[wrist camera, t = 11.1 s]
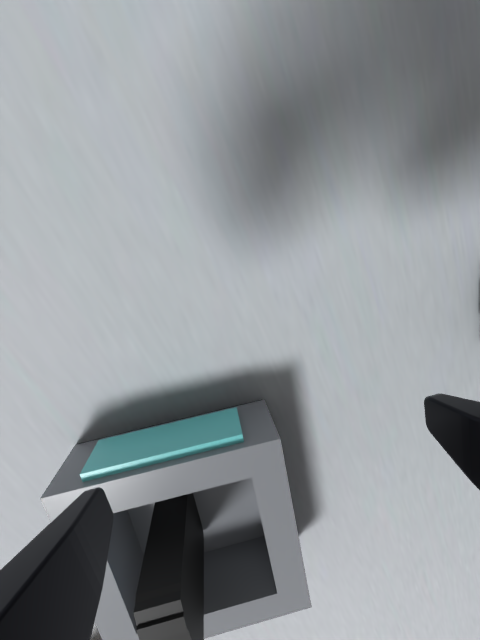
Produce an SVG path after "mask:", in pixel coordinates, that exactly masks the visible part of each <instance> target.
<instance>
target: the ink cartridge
mask: <svg viewBox="0 0 480 640" xmlns="http://www.w3.org/2000/svg"><path fill="white" fill-rule="evenodd" d="M133 613H134V617H135V621H136V625H137V628H136V631H137V634H138V637H139V640H204V534H203V528H202V524H201V520H200V516H199V513H198V509H197V506H196V502H195V498H194V495H193V493H190V494H186V495H182V496H178V497H174V498H171V499H167V500H163V501H159V502H155V505H154V510H153V514H152V519H151V524H150V529H149V534H148V539H147V543H146V548H145V553H144V558H143V563H142V568H141V573H140V577H139V582H138V587H137V592H136V600H135V607H134V612H133Z"/></svg>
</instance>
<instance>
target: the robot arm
mask: <svg viewBox="0 0 480 640" xmlns="http://www.w3.org/2000/svg"><path fill="white" fill-rule="evenodd" d="M424 407H425V418H426V425H427V428H428V430H429V431H430V433H431V434H432V435H433V436H434V437H435V439H436V440H437V441H438V442H439V444H440V445H441V446H442V447H443V448H444V450H445V451H446V452H447V453H448V454H449V456H450V457H451V458H452V459H453V460H454V462H455V463H456V464H457V465H458V466H459V468H460V469H461V470H462V471H463V472H464V474H465V475H466V476H467V477H468V478H469V479H470V480H471V482H472V483H473V484H474V485H475V486H476V487H477V488H478V489H479V490H480V402H477V401H473V400H468V399H463V398H459V397H454V396H450V395H445V394H435V395H432V396H428V397H426V398H425V400H424ZM112 526H113V511H112V509H111V506H110V504H109V501H108V499H107V497H106V494H105V492H104V490H103V489H102V488H100V487H97V488H93V489H90V490H86V491H84V492H83V493H82V494H81V495H80V496H79V497H78V498H76V499H75V500H74V501H73V502H72V503H71V504H70V505H69V506H68V507H67V508H66V509H65V510H64V511H63V512H62V513H61V514H59V515H58V516H57V517H56V518H55V519H54V520H53V521H52V522H51V523H50V524H49V525H48V526H47V527H46V528H45V529H44V530H43V531H41V532H40V533H39V534H38V535H37V536H36V537H35V538H34V539H33V540H32V541H31V542H30V543H29V544H28V545H27V546H26V547H24V548H23V549H22V550H21V551H20V552H19V553H18V554H17V555H16V556H15V557H14V558H13V559H12V560H11V561H10V562H9V563H7V564H6V565H5V566H4V567H3V568H2V569H1V570H0V640H90V637H91V633H92V629H93V625H94V621H95V617H96V613H97V609H98V605H99V601H100V597H101V593H102V588H103V583H104V577H105V571H106V564H107V558H108V552H109V545H110V539H111V533H112Z"/></svg>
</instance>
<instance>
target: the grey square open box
mask: <svg viewBox="0 0 480 640" xmlns="http://www.w3.org/2000/svg"><path fill="white" fill-rule="evenodd" d="M97 487H100V488H102V489H103V490H104V492H105V494H106V497H107V499H108V501H109V504H110V506H111V509H112V511H113V526H112V533H111V539H110V545H109V552H108V558H107V564H106V571H105V577H104V583H103V588H102V593H101V597H100V601H99V605H98V609H97V613H96V617H95V621H94V622H95V625H96V627H97V629H98V631H99V634H100V636H101V638H102V640H139V637H138V634H137V631H136V628H137V625H136V621H135V617H134V613H133V612H134V607H135V600H136V592H137V587H138V582H139V577H140V573H141V568H142V563H143V558H144V553H145V548H146V543H147V539H148V534H149V529H150V524H151V519H152V514H153V510H154V505H155V502H159V501H163V500H167V499H171V498H174V497H178V496H182V495H186V494H190V493H193V495H194V498H195V502H196V506H197V509H198V513H199V516H200V520H201V524H202V528H203V534H204V639H205V638H208V637H212V636H215V635H218V634H222V633H225V632H229V631H232V630H235V629H239V628H242V627H246V626H249V625H252V624H256V623H259V622H263V621H266V620H270V619H273V618H276V617H280V616H283V615H287V614H290V613H293V612H297V611H300V610H304V609H307V608H310V607H311V601H310V596H309V590H308V585H307V580H306V574H305V569H304V563H303V558H302V552H301V547H300V542H299V536H298V531H297V525H296V520H295V515H294V509H293V504H292V498H291V493H290V487H289V482H288V477H287V471H286V466H285V460H284V455H283V449H282V444H281V439H280V436H279V434H278V431H277V429H276V426H275V424H274V422H273V419H272V417H271V414H270V412H269V409H268V407H267V405H266V402H265V400H260V401H256V402H252V403H248V404H243V405H239V406H235V407H231V408H227V409H223V410H218V411H214V412H210V413H206V414H202V415H197V416H193V417H189V418H185V419H181V420H177V421H172V422H168V423H164V424H160V425H156V426H152V427H147V428H143V429H139V430H135V431H131V432H127V433H122V434H118V435H114V436H110V437H106V438H101V439H97V440H93V441H89V442H85V443H81V444H76V445H75V446H74V448H73V449H72V451H71V452H70V454H69V455H68V457H67V459H66V460H65V462H64V463H63V465H62V466H61V468H60V469H59V471H58V472H57V474H56V475H55V477H54V478H53V480H52V481H51V483H50V485H49V486H48V488H47V489H46V491H45V492H44V494H43V495H42V497H41V498H40V500H41V502H42V504H43V506H44V509H45V511H46V513H47V515H48V518H49V520H50V522H52V521H53V520H54V519H55V518H56V517H57V516H58V515H59V514H61V513H62V512H63V511H64V510H65V509H66V508H67V507H68V506H69V505H70V504H71V503H72V502H73V501H74V500H75V499H76V498H78V497H79V496H80V495H81V494H82V493H83V492H84V491H86V490H90V489H93V488H97Z"/></svg>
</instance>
